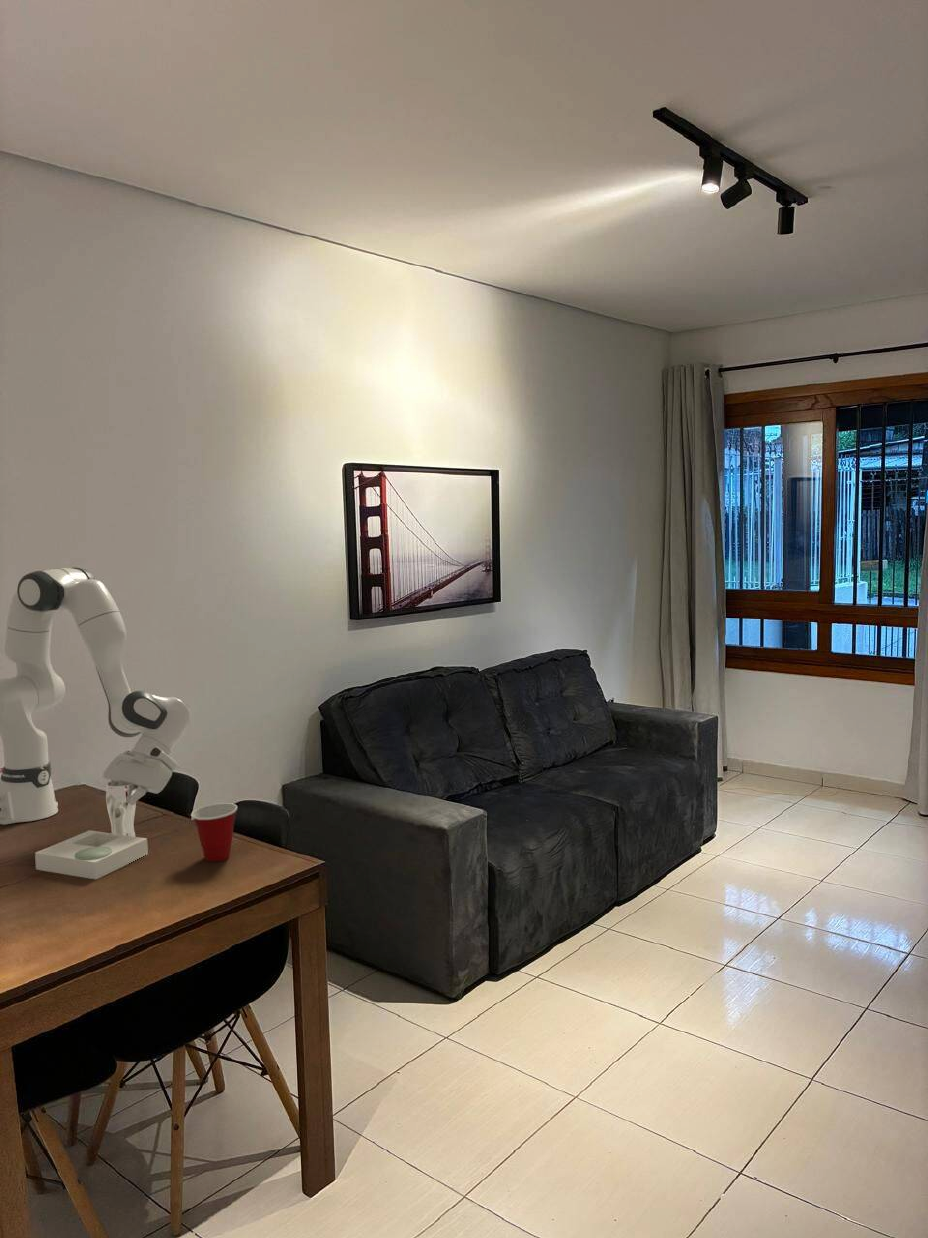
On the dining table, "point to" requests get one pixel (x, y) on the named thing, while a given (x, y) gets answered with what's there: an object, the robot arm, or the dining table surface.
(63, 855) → the pale board
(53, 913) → the dining table surface
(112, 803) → the beer glass
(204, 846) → the plastic cup
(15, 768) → the robot arm
